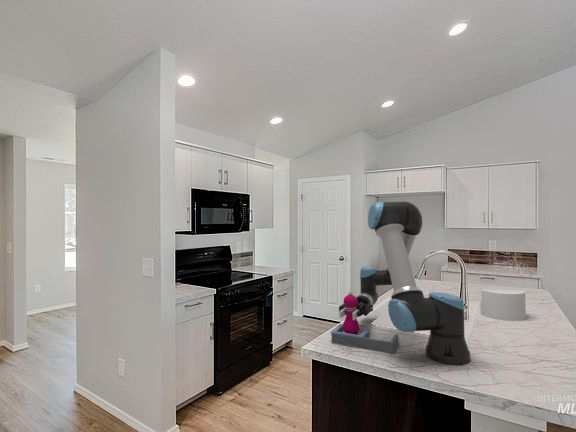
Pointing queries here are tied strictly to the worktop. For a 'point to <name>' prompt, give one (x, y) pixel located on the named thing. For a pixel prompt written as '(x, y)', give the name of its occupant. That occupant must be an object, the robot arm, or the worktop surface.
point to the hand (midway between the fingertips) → (346, 315)
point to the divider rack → (363, 340)
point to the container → (503, 304)
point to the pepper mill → (350, 315)
